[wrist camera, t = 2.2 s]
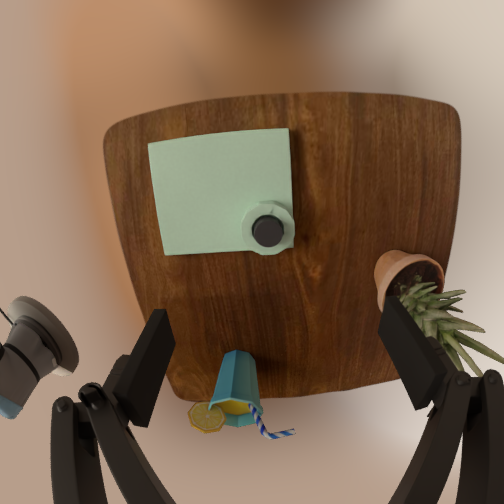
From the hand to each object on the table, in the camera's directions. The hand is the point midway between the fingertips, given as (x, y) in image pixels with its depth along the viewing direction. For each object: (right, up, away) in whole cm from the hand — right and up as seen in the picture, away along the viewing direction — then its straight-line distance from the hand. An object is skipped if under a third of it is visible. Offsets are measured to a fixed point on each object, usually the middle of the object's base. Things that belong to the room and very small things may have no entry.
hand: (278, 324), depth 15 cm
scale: (-5, +11, +16) cm, 20 cm away
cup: (-3, -13, +27) cm, 30 cm away
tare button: (0, +7, +15) cm, 16 cm away
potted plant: (+18, +2, +20) cm, 27 cm away
